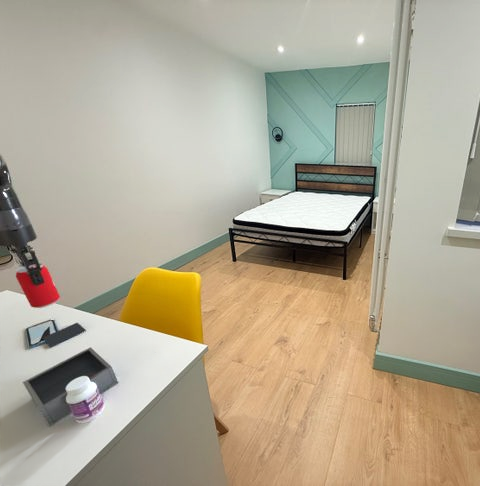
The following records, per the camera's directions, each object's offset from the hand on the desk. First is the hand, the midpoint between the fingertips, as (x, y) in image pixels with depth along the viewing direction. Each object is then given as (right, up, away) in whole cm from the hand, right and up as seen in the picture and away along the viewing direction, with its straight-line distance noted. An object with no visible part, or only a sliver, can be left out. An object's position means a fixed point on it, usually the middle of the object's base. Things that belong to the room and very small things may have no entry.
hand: (35, 280), depth 75 cm
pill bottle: (+27, -30, -12) cm, 42 cm away
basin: (+18, -28, -7) cm, 34 cm away
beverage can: (0, -7, +3) cm, 8 cm away
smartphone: (-13, -20, +14) cm, 28 cm away
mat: (-4, -20, +13) cm, 24 cm away
